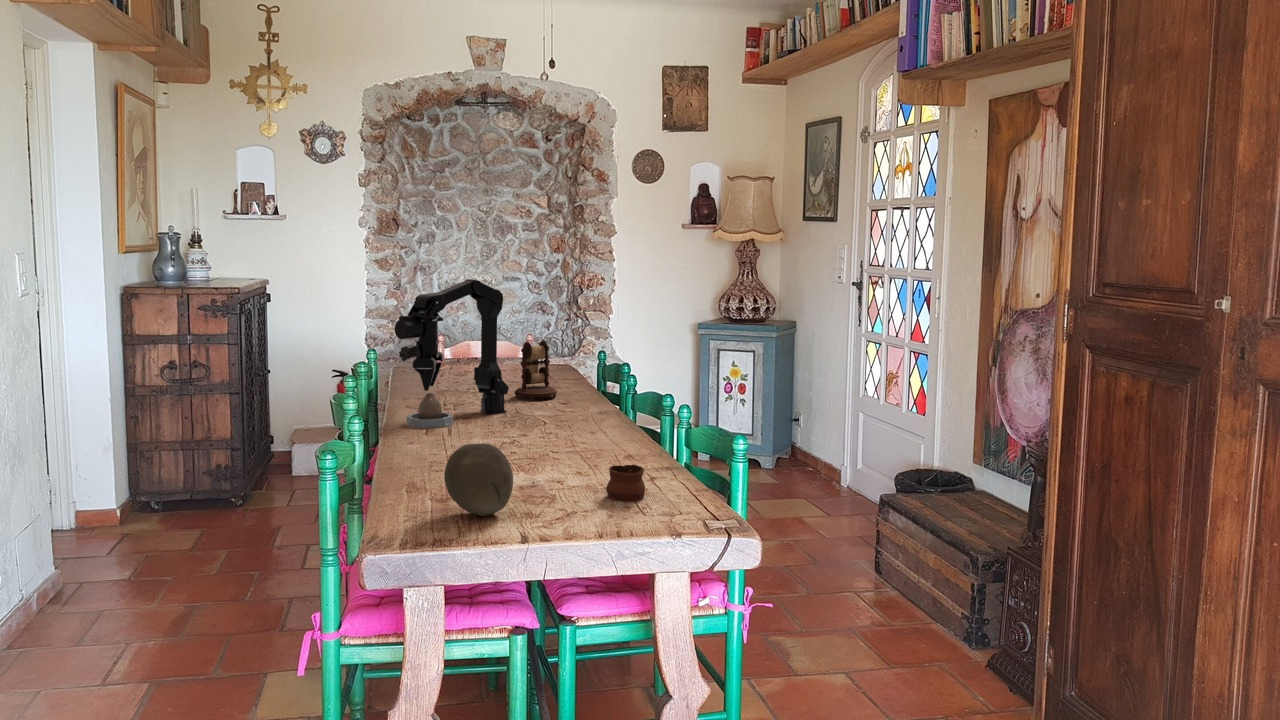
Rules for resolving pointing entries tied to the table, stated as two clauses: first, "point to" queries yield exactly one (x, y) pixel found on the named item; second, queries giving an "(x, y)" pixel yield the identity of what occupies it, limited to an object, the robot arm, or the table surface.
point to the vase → (430, 407)
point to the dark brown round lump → (479, 478)
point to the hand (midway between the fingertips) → (428, 388)
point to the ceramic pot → (626, 483)
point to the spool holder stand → (535, 372)
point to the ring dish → (429, 421)
